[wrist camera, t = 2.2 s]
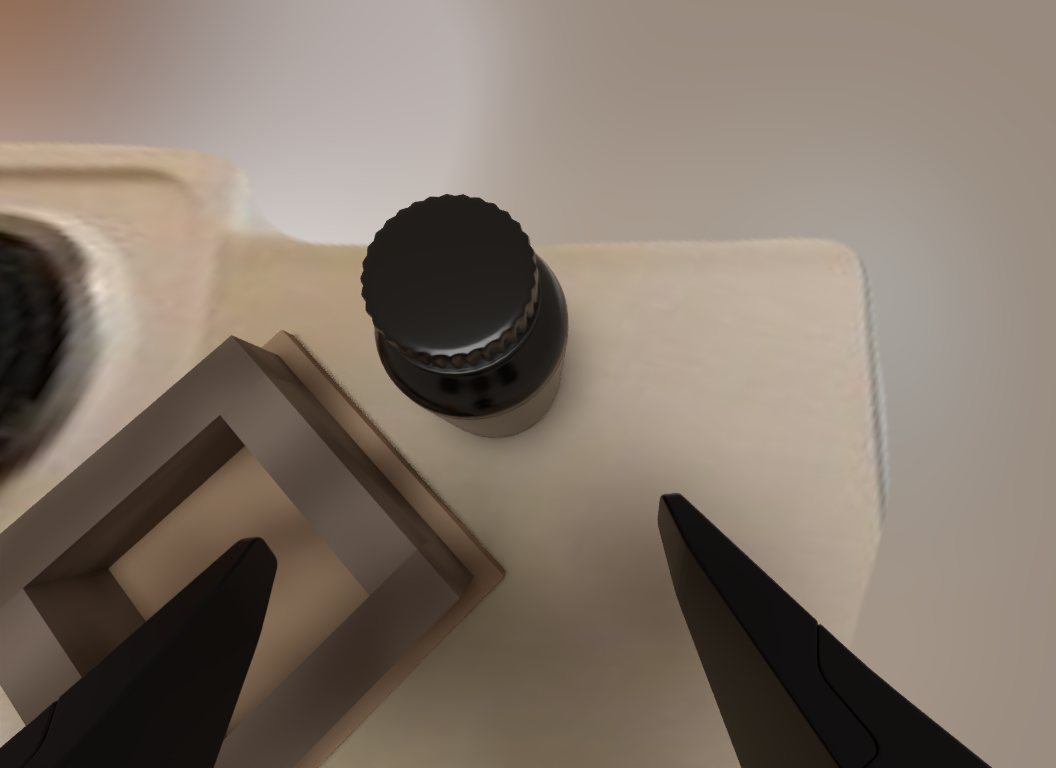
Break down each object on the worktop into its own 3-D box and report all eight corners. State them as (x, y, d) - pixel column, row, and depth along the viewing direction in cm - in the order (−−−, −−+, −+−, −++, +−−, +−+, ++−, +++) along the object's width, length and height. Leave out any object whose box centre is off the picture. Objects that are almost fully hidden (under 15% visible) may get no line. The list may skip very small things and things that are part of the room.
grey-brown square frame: (505, 571, 21) (495, 598, 17) (230, 853, 19) (138, 967, 15) (292, 335, 24) (235, 305, 19) (33, 562, 22) (-95, 585, 18)
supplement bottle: (587, 373, 23) (634, 272, 11) (495, 466, 22) (442, 463, 10) (497, 288, 24) (453, 116, 12) (406, 374, 23) (267, 278, 12)
